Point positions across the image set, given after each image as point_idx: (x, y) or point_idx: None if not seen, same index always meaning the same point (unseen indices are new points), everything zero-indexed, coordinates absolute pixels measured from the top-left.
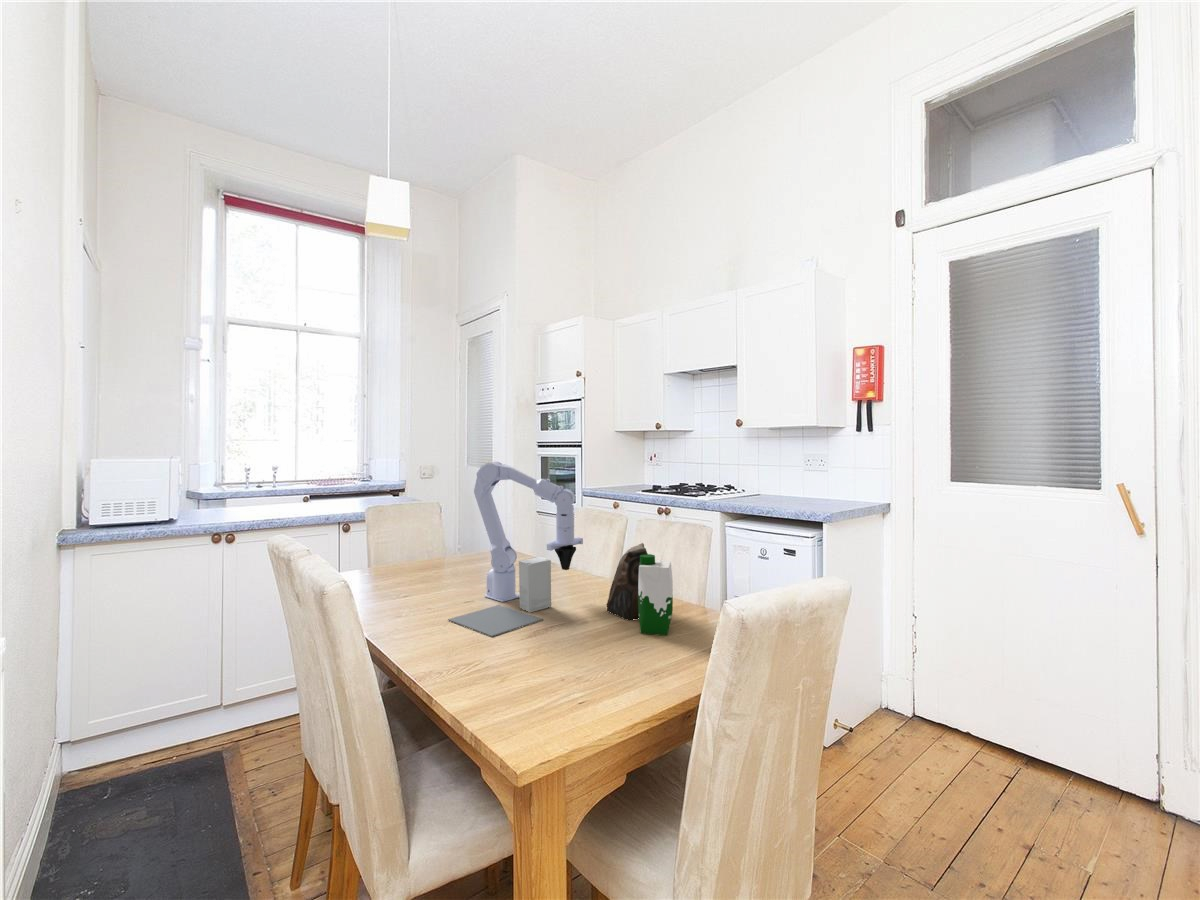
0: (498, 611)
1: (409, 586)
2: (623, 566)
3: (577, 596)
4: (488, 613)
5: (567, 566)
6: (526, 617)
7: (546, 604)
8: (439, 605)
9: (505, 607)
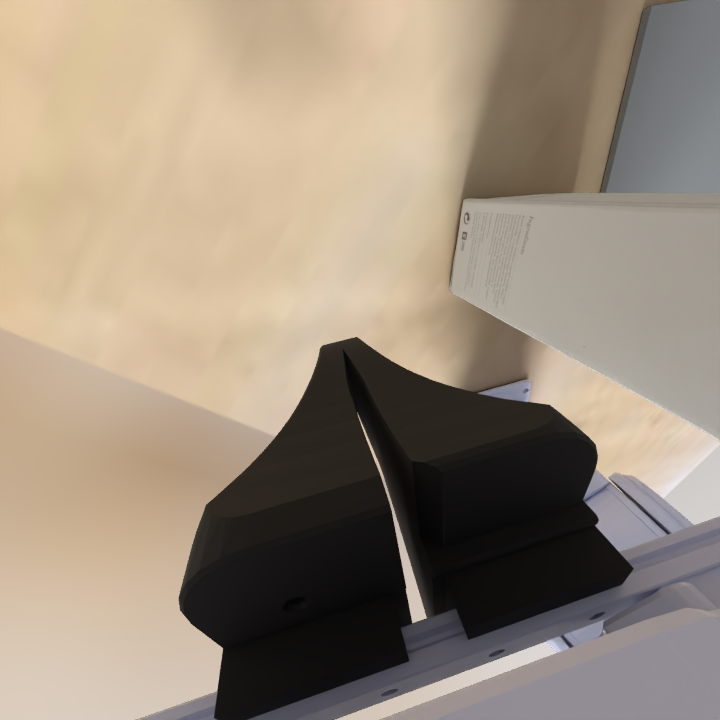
0: None
1: None
2: None
3: (242, 287)
4: None
5: (356, 346)
6: (662, 109)
7: (502, 198)
8: (626, 431)
9: None
